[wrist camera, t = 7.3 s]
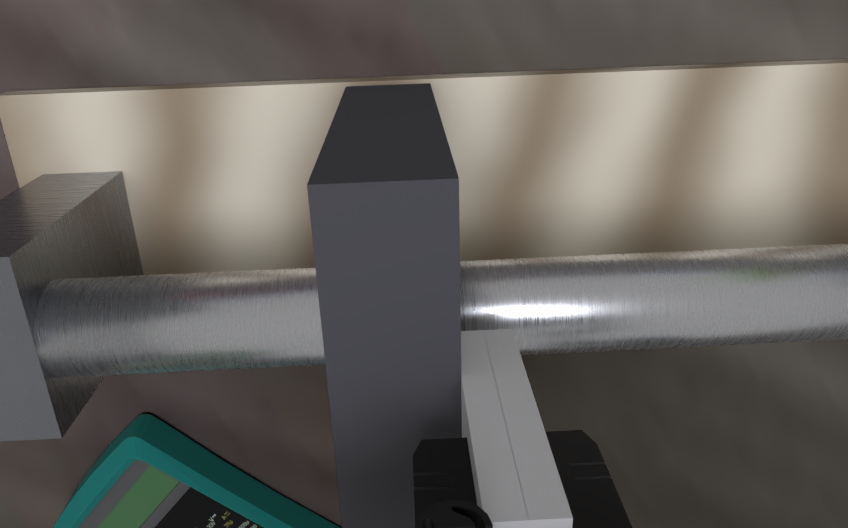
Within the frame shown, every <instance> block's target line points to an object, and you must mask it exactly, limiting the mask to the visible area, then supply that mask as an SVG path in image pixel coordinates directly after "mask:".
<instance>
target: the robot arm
mask: <svg viewBox="0 0 848 528" xmlns="http://www.w3.org/2000/svg"><path fill="white" fill-rule="evenodd" d="M461 406H462V438H444V439H424V440H421V441H420V443H419V445H418V447H417V449H416V450H415V452H414V454H413V480H414V507H415V528H632V526H631V524H630V521H629V519H628V517H627V514H626V512H625V509H624V507H623V505H622V502H621V500H620V498H619V495H618V493H617V490H616V488H615V486H614V483H613V481H612V479H611V478H610V474H609V471H608V469H607V467H606V465H605V464H604V460H603V457H602V455H601V452H600V450H599V448H598V445H597V444H596V443H595V442H594V441H593V440H592V439H591V438H589V437H588V436H587V435H586V434H585V433H584V432H583V431H582V430H574V431H554V432H545V429H544V426H543V423H542V420H541V417H540V414H539V411H538V408H537V404H536V401H535V398H534V395H533V392H532V389H531V386H530V383H529V380H528V376H527V373H526V370H525V367H524V364H523V361H522V358H521V355H520V352H519V349H518V345H517V342H516V339H515V336H514V333H513V330H512V329H498V330H477V331H461Z"/></svg>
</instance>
